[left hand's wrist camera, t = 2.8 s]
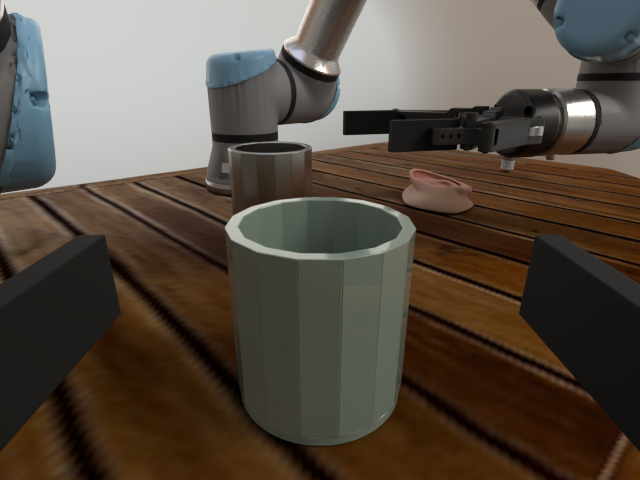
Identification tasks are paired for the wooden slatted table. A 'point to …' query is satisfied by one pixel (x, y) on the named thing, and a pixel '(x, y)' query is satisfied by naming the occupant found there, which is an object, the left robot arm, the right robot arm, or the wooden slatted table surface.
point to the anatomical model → (436, 193)
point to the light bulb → (507, 163)
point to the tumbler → (269, 172)
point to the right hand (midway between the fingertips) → (363, 128)
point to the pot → (319, 314)
